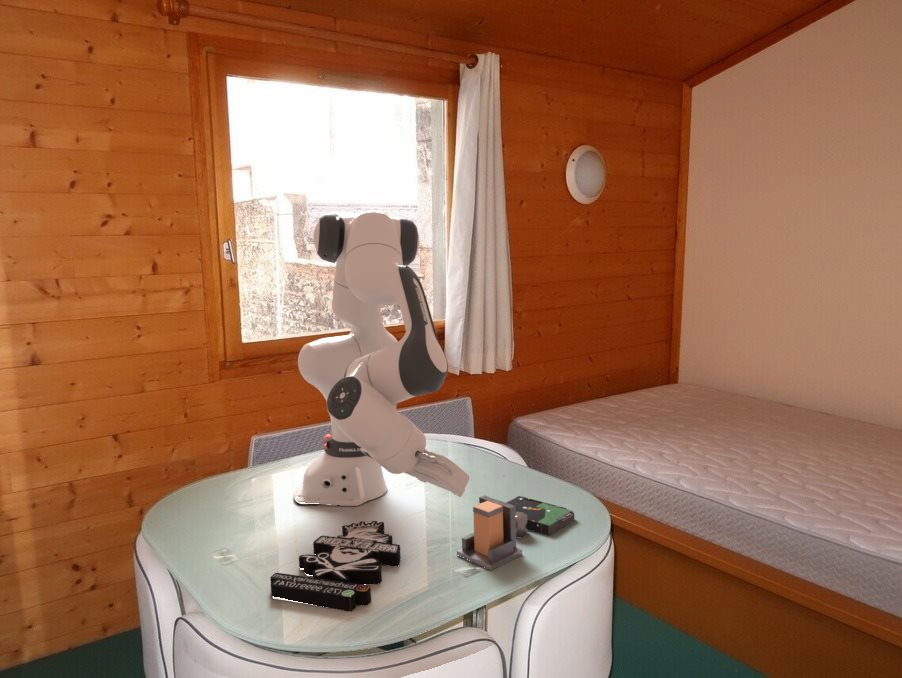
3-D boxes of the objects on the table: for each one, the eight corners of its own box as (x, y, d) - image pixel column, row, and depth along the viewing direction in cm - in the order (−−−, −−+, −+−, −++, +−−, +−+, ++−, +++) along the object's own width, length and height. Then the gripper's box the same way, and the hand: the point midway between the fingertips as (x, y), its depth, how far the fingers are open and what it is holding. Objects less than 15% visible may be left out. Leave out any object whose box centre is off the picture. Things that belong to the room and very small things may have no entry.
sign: (261, 584, 124) (340, 517, 152) (263, 600, 125) (341, 530, 153) (360, 599, 118) (423, 526, 146) (361, 615, 119) (424, 540, 147)
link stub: (509, 538, 145) (509, 520, 145) (507, 530, 149) (506, 512, 149) (529, 537, 146) (528, 518, 145) (525, 529, 150) (525, 511, 149)
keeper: (490, 570, 132) (489, 522, 130) (453, 554, 139) (452, 508, 138) (522, 554, 138) (521, 508, 137) (485, 539, 145) (484, 495, 144)
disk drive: (492, 521, 155) (550, 538, 146) (491, 509, 155) (550, 525, 146) (518, 506, 163) (575, 521, 154) (518, 495, 163) (575, 508, 153)
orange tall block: (489, 556, 135) (488, 512, 134) (474, 550, 138) (473, 506, 137) (504, 549, 138) (503, 505, 137) (488, 543, 141) (487, 500, 140)
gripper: (450, 444, 114) (492, 485, 123) (373, 419, 129) (415, 457, 137) (430, 478, 112) (474, 517, 121) (354, 448, 127) (398, 485, 135)
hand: (442, 485), depth 129 cm, fingers open, 8 cm apart
